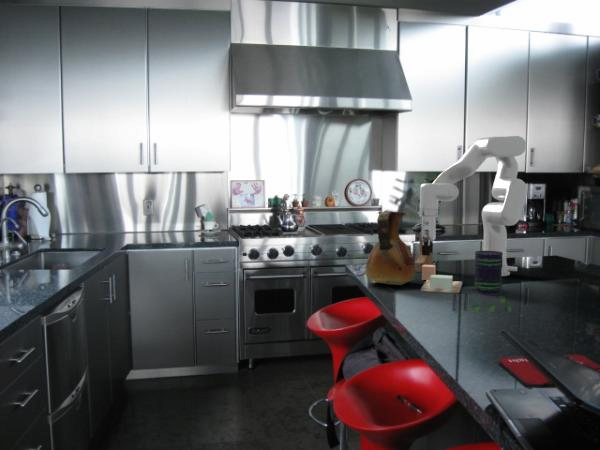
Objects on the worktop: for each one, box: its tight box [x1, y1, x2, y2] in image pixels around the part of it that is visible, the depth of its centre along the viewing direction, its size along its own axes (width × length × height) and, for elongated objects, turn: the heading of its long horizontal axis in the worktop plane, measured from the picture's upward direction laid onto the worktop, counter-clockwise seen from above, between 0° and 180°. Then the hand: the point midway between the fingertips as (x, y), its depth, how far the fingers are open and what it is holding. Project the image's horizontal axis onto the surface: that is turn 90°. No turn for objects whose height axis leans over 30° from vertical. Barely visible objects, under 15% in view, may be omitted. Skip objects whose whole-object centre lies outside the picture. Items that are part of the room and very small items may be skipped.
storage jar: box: [473, 250, 503, 296], centre depth 201 cm, size 10×10×15 cm
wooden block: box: [414, 231, 434, 273], centre depth 249 cm, size 9×4×18 cm, turn 131°
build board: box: [420, 280, 463, 294], centre depth 211 cm, size 14×18×1 cm
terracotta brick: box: [421, 264, 436, 281], centre depth 228 cm, size 5×5×6 cm
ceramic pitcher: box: [365, 210, 416, 286], centre depth 218 cm, size 20×20×30 cm
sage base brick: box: [430, 274, 454, 289], centre depth 208 cm, size 8×6×4 cm
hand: (427, 253), depth 227 cm, fingers open, 9 cm apart
